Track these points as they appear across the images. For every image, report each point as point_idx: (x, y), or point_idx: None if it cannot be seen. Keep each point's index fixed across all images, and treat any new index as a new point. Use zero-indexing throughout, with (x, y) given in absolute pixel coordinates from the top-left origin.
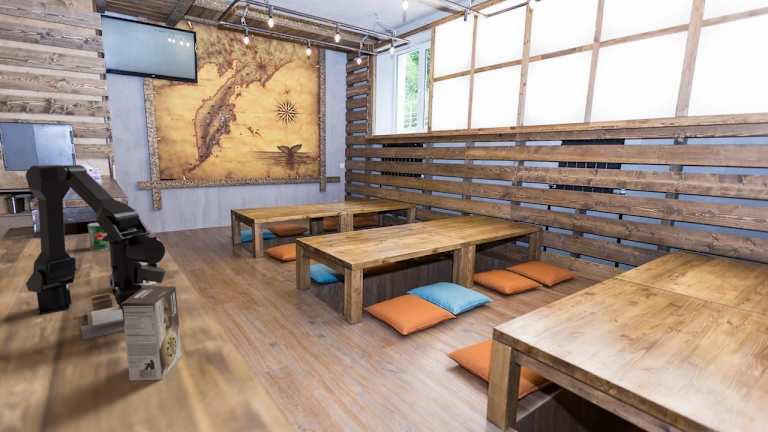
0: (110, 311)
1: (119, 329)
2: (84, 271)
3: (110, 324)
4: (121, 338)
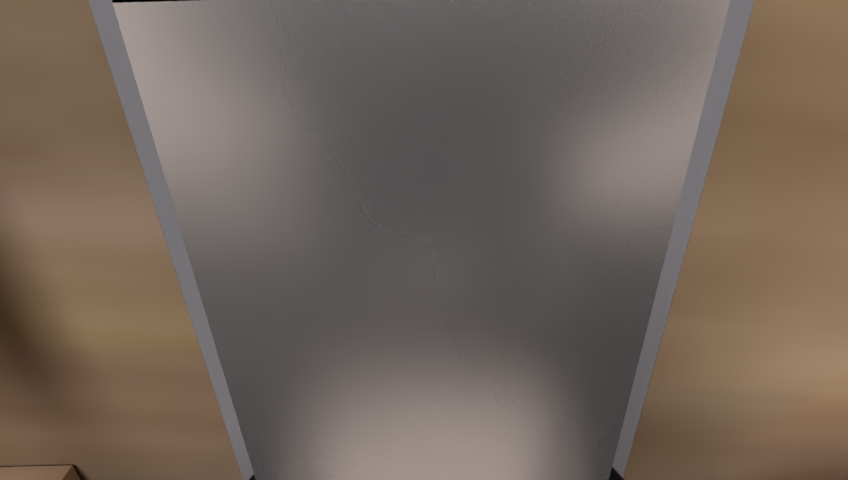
0: None
1: (613, 462)
2: None
3: None
4: (819, 443)
